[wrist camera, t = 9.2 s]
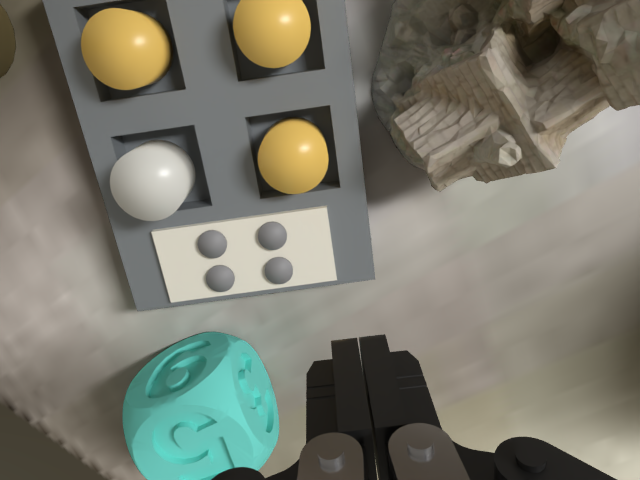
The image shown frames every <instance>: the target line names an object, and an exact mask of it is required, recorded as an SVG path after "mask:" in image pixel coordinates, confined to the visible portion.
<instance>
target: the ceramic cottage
mask: <svg viewBox="0 0 640 480" xmlns="http://www.w3.org/2000/svg"><path fill="white" fill-rule="evenodd" d="M372 96H373V102H374V105H375V110H376V111H377V113H378V119H379V120H381V121H382V124H383V125H384V126H385V128H386V129H387V130H388V131H389V132H390V133H391V136H392V139H393V141H394V143H395V144H396V148H399V150H400V152H401V154H402V155H403V157H405V158H406V160H407V161H408V162H409V163H410V164H412V165H414V166H415V167H418V168H420V169H423V170H426V173H427V176H428V178H429V180H430V181H431V186H432V187H433V188H434V189H436V190H437V191H439V192H441V191H442V190H443V189H445V188H446V187H447V186H449V185H451V184H452V183H454V182H455V181H457V180H459V179H462V178H466V177H470V176H473V177H474V178H475V179H476V181H484V182H485V183H488V182H490V181H495V180H498V179H504V178H509V177H514V176H518V175H522V174H525V173H526V174H530V173H537V172H542V171H546V170H550V169H554V168H556V167H557V165H558V163H559V162H560V159H559V157H560V154H561V152H562V148H563V146H564V144H565V142H566V140H567V138H566V137H567V136H568V134H569V133H571V132H572V131H574V130H575V129H577V128H578V127H580V126H581V125H583V124H584V123H586V122H588V121H589V120H591V119H593V118H594V117H595V116H596V115H597V114H598V113H599V112H601V111H602V110H604V109H606V108H607V107H609V105H610V106H611V107H613V108H614V109H615V110H617V111H618V110H622V109H625V108H627V107H630V106H635V105H640V0H396V1H395V2H394V3H393V5H392V13H391V18H390V20H389V22H388V26H387V29H386V34H385V37H384V40H383V43H382V48H381V52H380V53H379V58H378V62H377V65H376V68H375V71H374V74H373V87H372Z"/></svg>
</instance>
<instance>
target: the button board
mask: <svg viewBox="0 0 640 480" xmlns="http://www.w3.org/2000/svg"><path fill="white" fill-rule="evenodd" d="M302 1H303V3H304V5H305V6H306V9H307V11H308V14H309V17H310V23H311V32H310V38H309V41H308V44H307V46H306V48H305V50H304V52H303V53H302V54H301V56H300V57H299V58H298V59H297V60H295V61H294V62H292V63H291V64H289V65H286V66H284V67H280V68H267V67H263V66H260V65H258V64H256V63H254V62H252V61H251V60H249V59H248V58H247V57H246V56H245V55H244V54H243V52H242V51H241V49H240V48H239V46H238V44H237V42H236V39H235V36H234V30H233V19H234V14H235V10H236V8H237V6H238V4H239V2H240V0H43V4H44V7H45V10H46V13H47V17H48V20H49V23H50V26H51V30H52V33H53V36H54V40H55V43H56V46H57V49H58V53H59V56H60V59H61V63H62V66H63V69H64V72H65V76H66V79H67V82H68V85H69V89H70V92H71V95H72V99H73V102H74V105H75V108H76V112H77V115H78V118H79V121H80V125H81V128H82V131H83V135H84V138H85V141H86V144H87V148H88V151H89V154H90V158H91V161H92V164H93V167H94V171H95V174H96V177H97V180H98V184H99V187H100V190H101V194H102V197H103V200H104V203H105V207H106V210H107V213H108V217H109V220H110V223H111V226H112V230H113V233H114V236H115V239H116V243H117V246H118V249H119V253H120V256H121V259H122V262H123V266H124V269H125V272H126V276H127V279H128V282H129V285H130V289H131V292H132V295H133V298H134V302H135V305H136V308H137V311H144V310H152V309H159V308H166V307H174V306H181V305H189V304H196V303H203V302H211V301H218V300H226V299H233V298H240V297H248V296H255V295H262V294H270V293H277V292H285V291H292V290H299V289H307V288H314V287H322V286H329V285H336V284H344V283H351V282H359V281H366V280H373V279H375V272H374V263H373V254H372V245H371V236H370V227H369V218H368V209H367V200H366V191H365V182H364V173H363V164H362V155H361V145H360V136H359V127H358V118H357V109H356V100H355V91H354V82H353V73H352V64H351V55H350V46H349V37H348V27H347V18H346V9H345V0H302ZM109 8H121V9H126V10H132V11H137V12H142V13H145V14H148V15H150V16H152V17H153V18H155V19H156V20H158V21H159V22H160V23H161V24H162V25H163V26H164V28H165V29H166V31H167V32H168V34H169V36H170V39H171V42H172V46H173V60H172V64H171V67H170V69H169V71H168V72H167V74H166V75H165V76H164V77H163V78H162V79H161V80H159V81H158V82H156V83H153V84H150V85H147V86H143V87H139V88H136V89H131V90H120V89H115V88H112V87H110V86H107V85H105V84H104V83H102V82H101V81H100V80H98V79H97V78H96V77H95V76H94V75H93V74H92V72H91V71H90V70H89V68H88V67H87V65H86V63H85V61H84V58H83V55H82V50H81V37H82V33H83V29H84V27H85V25H86V23H87V22H88V20H89V19H90V18H91V17H92V16H93V15H95V14H96V13H98V12H99V11H102V10H104V9H109ZM288 117H300V118H304V119H307V120H309V121H311V122H312V123H314V124H315V125H316V126H317V127H318V128H319V129H320V130H321V132H322V134H323V136H324V138H325V141H326V146H327V151H328V159H329V161H328V168H327V171H326V174H325V176H324V178H323V179H322V181H321V182H320V183H319V184H318V185H317V186H316V187H314V188H313V189H311V190H309V191H307V192H304V193H300V194H287V193H283V192H280V191H278V190H276V189H274V188H273V187H271V186H270V185H269V184H268V183H267V182H266V181H265V179H264V178H263V176H262V174H261V172H260V170H259V166H258V152H259V148H260V145H261V143H262V141H263V139H264V137H265V134H266V133H267V131H268V129H269V128H270V127H271V126H272V125H273V124H274V123H276V122H277V121H279V120H281V119H284V118H288ZM151 140H166V141H169V142H172V143H174V144H176V145H178V146H180V147H181V148H182V149H183V150H184V151H185V152H186V153H187V154H188V155H189V157H190V158H191V160H192V162H193V164H194V168H195V176H196V177H195V183H194V187H193V189H192V191H191V192H190V194H189V195H188V196H187V198H186V199H185V200H184V201H183V203H182V204H181V205H180V207H179V208H178V209H177V210H176V211H175V212H174V213H173V214H172V215H170V216H169V217H167V218H165V219H162V220H158V221H145V220H141V219H137V218H135V217H133V216H131V215H129V214H128V213H126V212H125V211H124V210H123V209H122V208H121V207H120V206H119V205H118V204H117V202H116V201H115V199H114V197H113V195H112V192H111V188H110V175H111V171H112V168H113V167H114V165H115V163H116V162H117V161H118V160H119V159H120V158H121V157H122V156H123V155H125V154H126V153H128V152H130V151H131V150H133V149H135V148H136V147H138V146H139V145H141V144H143V143H145V142H147V141H151Z"/></svg>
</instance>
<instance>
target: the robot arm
mask: <svg viewBox="0 0 640 480" xmlns="http://www.w3.org/2000/svg"><path fill="white" fill-rule="evenodd" d="M359 343H360V352H361V360H360V353H359V347H358V341H357V338H351V339H342V340H334V341H331V346H332V359H330V360H321V361H314V362H313V364H312V366H311V367H310V369H309V371H308V372H307V392H306V398H307V401H306V445H305V446H304V448H303V449H302V451H301V454H300V458H299V460H298V461H297V462H296V463H295V464H293V465H292V466H291V467H289V468H288V469H286V470H284V471H282V472H280V473H277V474H275V475H272V476H270V477H267V478H264V476H263V475H262V474H261V473H260V472H258V471H257V470H255V469H252V468H248V467H236V468H231V469H228V470H225V471H223V472H221V473H219V474H218V475H216V476H215V477H214V478H213V479H211V480H377V472H378V478H379V480H617V479H615V478H613V477H611V476H609V475H607V474H605V473H603V472H601V471H600V470H598V469H596V468H594V467H592V466H590V465H588V464H586V463H585V462H583V461H581V460H579V459H577V458H575V457H573V456H571V455H569V454H568V453H566V452H564V451H562V450H560V449H558V448H556V447H554V446H553V445H551V444H549V443H547V442H544V441H542V440H539V439H536V438H531V437H515V438H511V439H508V440H506V441H504V442H502V443H501V444H500V445H499V446H498V447H497V449H496V451H495V453H491V452H484V451H477V450H472V449H469V448H465V447H463V446H461V445H458V444H457V443H455V442H453V441H452V440H451V438H450V437H449V435H448V434H447V433H446V432H445V431H443V430H442V428H441V425H440V422H439V420H438V417H437V414H436V411H435V408H434V405H433V402H432V399H431V396H430V393H429V390H428V387H427V385H426V382H425V379H424V376H423V373H422V370H421V367H420V364H419V361H418V360H417V359H416V358H415V357H414V356H413V355H411V354H410V353H409V352H408V351H407V350H406V351H397V352H390V351H389V347H388V343H387V339H386V336H385V334H384V335H375V336H367V337H359ZM361 361H362V366H361ZM362 370H363V372H362ZM374 453H375V454H374ZM375 459H376V463H375ZM376 466H377V472H376Z"/></svg>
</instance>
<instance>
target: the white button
mask: <svg viewBox="0 0 640 480" xmlns="http://www.w3.org/2000/svg"><path fill="white" fill-rule="evenodd" d="M195 177H196V176H195V168H194V164H193V162H192V160H191V158H190V157H189V155H188V154H187V153H186V152H185V151H184V150H183V149H182V148H181V147H180V146H178V145H176V144H174V143H172V142H169V141H166V140H151V141H147V142H145V143H143V144H141V145H139V146H138V147H136V148H135V149H133V150H131V151H130V152H128V153H126V154H125V155H123V156H122V157H121V158H120V159H119V160H118V161H117V162H116V163H115V165H114V167H113V168H112V171H111V175H110V188H111V192H112V195H113V197H114V199H115V201H116V202H117V204H118V205H119V206H120V207H121V208H122V209H123V210H124V211H125V212H126V213H128V214H129V215H131V216H133V217H135V218H137V219H141V220H145V221H158V220H162V219H165V218H167V217H169V216H170V215H172V214H173V213H174V212H175V211H176V210H177V209H178V208H179V207H180V205H181V204H182V203H183V201H184V200H185V199H186V198H187V196H188V195H189V194H190V192H191V191H192V189H193V187H194V183H195Z"/></svg>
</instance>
